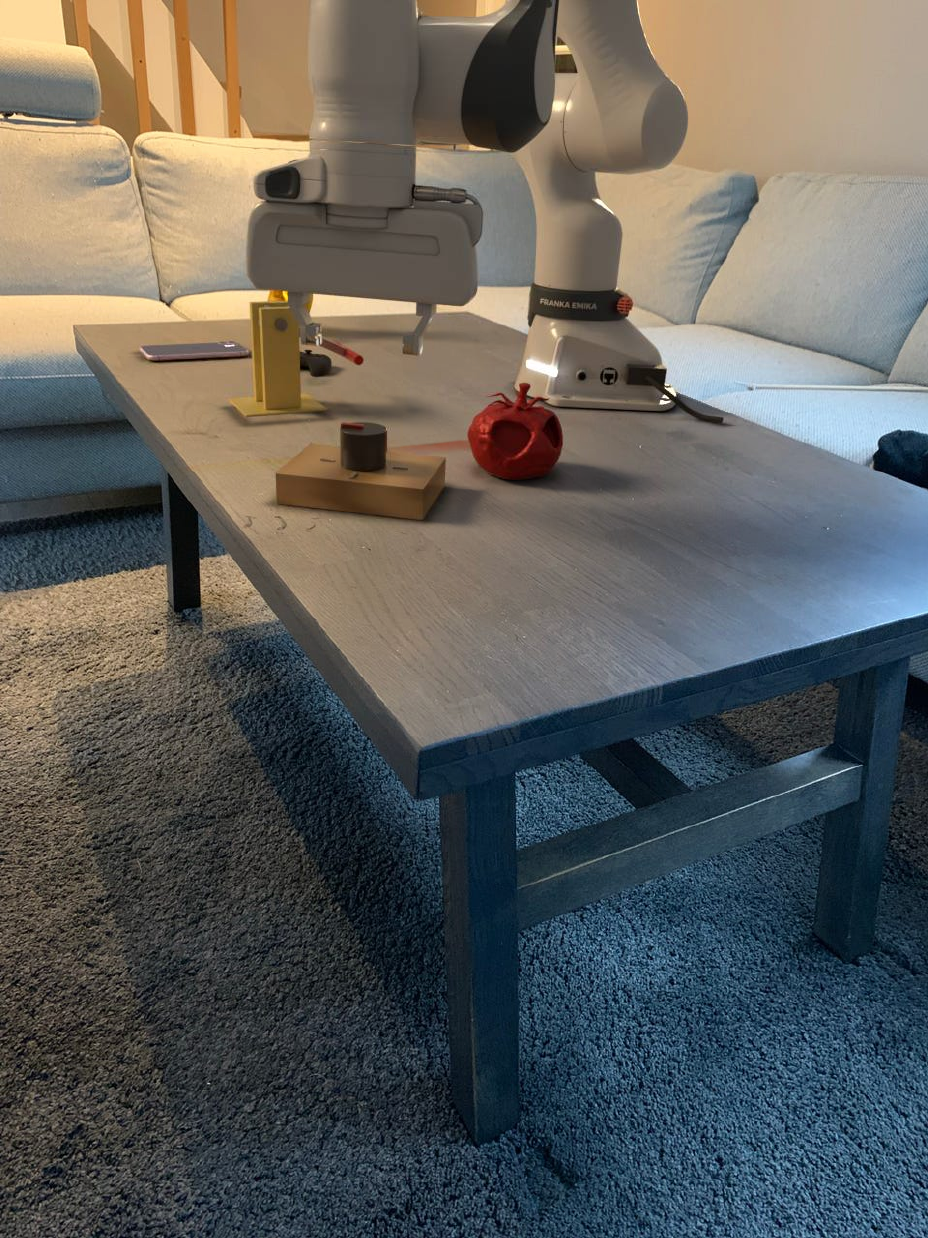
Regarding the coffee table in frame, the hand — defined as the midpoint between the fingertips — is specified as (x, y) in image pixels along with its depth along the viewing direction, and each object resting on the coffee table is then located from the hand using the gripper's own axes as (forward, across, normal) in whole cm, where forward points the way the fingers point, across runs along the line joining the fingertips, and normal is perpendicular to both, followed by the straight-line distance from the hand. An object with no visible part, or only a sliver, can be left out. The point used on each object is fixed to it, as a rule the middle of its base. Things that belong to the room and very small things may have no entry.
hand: (361, 349), depth 87 cm
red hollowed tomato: (+14, -13, -12) cm, 23 cm away
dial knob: (+11, 0, 0) cm, 11 cm away
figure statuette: (+14, +34, -75) cm, 83 cm away
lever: (+6, +15, -27) cm, 32 cm away
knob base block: (+14, 0, 0) cm, 14 cm away
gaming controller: (+14, +22, -45) cm, 52 cm away
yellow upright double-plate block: (+14, +18, -25) cm, 34 cm away
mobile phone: (+14, +41, -52) cm, 67 cm away
